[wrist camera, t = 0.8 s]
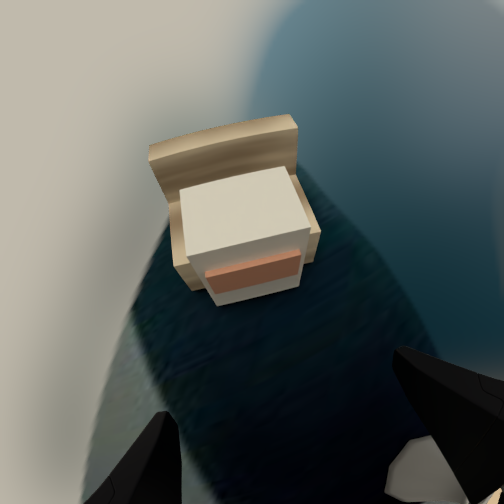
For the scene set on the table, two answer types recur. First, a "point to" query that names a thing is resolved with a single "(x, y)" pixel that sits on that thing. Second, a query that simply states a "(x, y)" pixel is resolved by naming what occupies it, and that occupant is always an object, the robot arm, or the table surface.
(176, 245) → the beige toy armchair
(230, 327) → the table surface
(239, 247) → the white box
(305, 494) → the table surface
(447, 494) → the flask
